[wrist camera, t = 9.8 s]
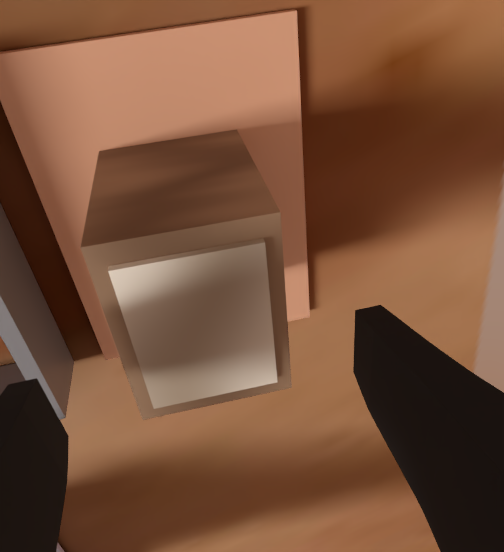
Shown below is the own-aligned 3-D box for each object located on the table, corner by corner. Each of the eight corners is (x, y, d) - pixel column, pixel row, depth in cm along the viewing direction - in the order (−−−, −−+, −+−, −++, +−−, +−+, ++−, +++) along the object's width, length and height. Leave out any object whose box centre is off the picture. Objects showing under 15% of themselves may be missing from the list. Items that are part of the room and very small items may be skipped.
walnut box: (236, 129, 16) (282, 216, 11) (253, 276, 19) (293, 392, 14) (98, 151, 15) (79, 252, 10) (141, 297, 19) (143, 425, 14)
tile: (307, 311, 21) (309, 316, 21) (106, 353, 20) (105, 360, 20) (293, 9, 14) (297, 10, 14) (-14, 54, 13) (-18, 56, 13)
